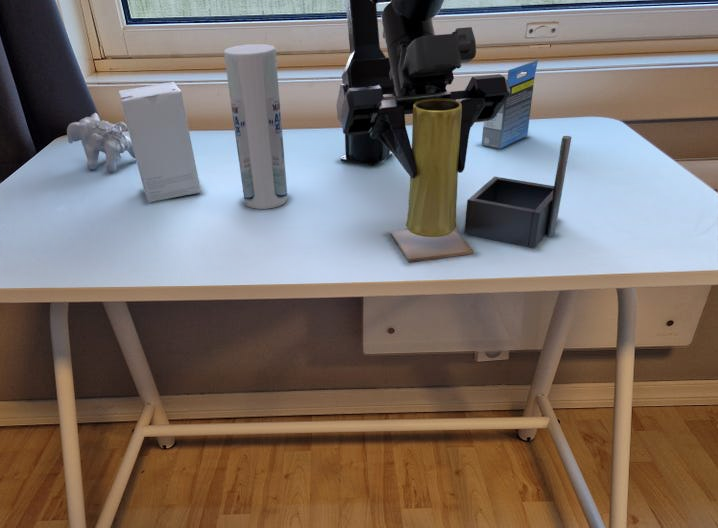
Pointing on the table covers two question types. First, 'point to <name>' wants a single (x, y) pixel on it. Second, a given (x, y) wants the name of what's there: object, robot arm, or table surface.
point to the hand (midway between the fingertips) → (437, 173)
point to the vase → (434, 167)
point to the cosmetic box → (161, 140)
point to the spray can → (257, 123)
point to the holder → (517, 207)
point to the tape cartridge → (512, 110)
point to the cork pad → (430, 245)
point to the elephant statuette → (100, 140)
